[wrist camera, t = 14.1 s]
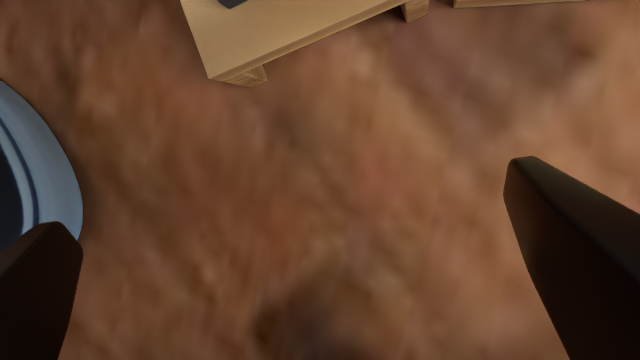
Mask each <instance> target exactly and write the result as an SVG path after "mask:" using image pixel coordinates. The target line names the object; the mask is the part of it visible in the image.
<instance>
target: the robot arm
mask: <svg viewBox="0 0 640 360" xmlns="http://www.w3.org/2000/svg"><path fill="white" fill-rule="evenodd" d="M503 196H504V202H505V205H506V208H507V211H508V214H509V217H510V220H511V223H512V226H513V229H514V232H515V235H516V238H517V241H518V244H519V247H520V250H521V253H522V256H523V259H524V262H525V264H526V267H527V270H528V272H529V274H530V277H531V279H532V281H533V283H534V286H535V288H536V290H537V292H538V294H539V296H540V298H541V300H542V302H543V304H544V306H545V308H546V311H547V313H548V315H549V317H550V319H551V321H552V323H553V325H554V327H555V329H556V331H557V333H558V336H559V338H560V340H561V342H562V344H563V346H564V348H565V350H566V352H567V354H568V356H569V359H570V360H640V214H638V213H637V212H635V211H633V210H631V209H629V208H628V207H626V206H624V205H622V204H620V203H618V202H617V201H615V200H613V199H611V198H609V197H608V196H606V195H604V194H602V193H600V192H598V191H597V190H595V189H593V188H591V187H589V186H588V185H586V184H584V183H582V182H580V181H578V180H577V179H575V178H573V177H571V176H569V175H568V174H566V173H564V172H562V171H560V170H558V169H557V168H555V167H553V166H551V165H549V164H548V163H546V162H544V161H542V160H540V159H538V158H536V157H534V156H528V157H521V158H514V159H512V160H510V162H509V164H508V168H507V174H506V179H505V185H504V191H503ZM82 261H83V249H82V247H81V245H80V244H79V242H78V241H77V240H76V239H75V237H74V236H73V235H72V234H71V233H70V231H69V230H68V229H67V228H66V226H65V225H64V224H63V223H61V222H59V221H51V222H44V223H39V224H36V225H35V226H33V227H32V228H30V229H29V230H28V231H26V232H25V233H24V234H22V235H21V236H19V237H18V238H17V239H15V240H14V241H13V242H11V243H10V244H8V245H7V246H6V247H4V248H3V249H2V250H0V360H58V357H59V353H60V350H61V347H62V344H63V341H64V338H65V335H66V332H67V328H68V325H69V321H70V317H71V312H72V308H73V303H74V298H75V294H76V289H77V284H78V280H79V275H80V270H81V265H82Z"/></svg>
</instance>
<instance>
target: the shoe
mask: <svg viewBox="0 0 640 360" xmlns="http://www.w3.org/2000/svg"><path fill="white" fill-rule="evenodd" d="M51 221H59V222H61V223H63V224H64V225H65V226H66V228H67V229H68V230H69V231H70V233H71V234H72V235H73V236H74V237H75V239H76V240H77V241H78V238H79V234H80V232H81V228H82V223H83V203H82V196H81V191H80V187H79V184H78V182H77V179H76V176H75V173H74V171H73V168H72V166H71V164H70V162H69V160H68V158H67V156H66V154H65V153H64V151H63V149H62V147H61V145H60V144H59V142H58V140H57V139H56V137H55V136H54V134H53V133H52V131H51V130H50V128H49V127H48V125H47V124H46V123H45V121H44V120H43V119H42V117H41V116H40V115H39V114H38V113H37V112H36V111H35V110H34V109H33V108H32V107H31V105H30V104H29V103H28V102H26V101H25V100H24V99H23V98H22V97H21V96H20V95H19V94H18V93H16V92H15V91H14V90H13V89H12V88H11V87H9V86H8V85H7V84H5V83H4V82H2V81H0V250H2V249H3V248H4V247H6V246H7V245H8V244H10V243H11V242H13V241H14V240H15V239H17V238H18V237H19V236H21V235H22V234H24V233H25V232H26V231H28V230H29V229H30V228H32V227H33V226H35V225H36V224H39V223H44V222H51Z"/></svg>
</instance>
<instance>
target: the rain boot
mask: <svg viewBox="0 0 640 360" xmlns="http://www.w3.org/2000/svg"><path fill="white" fill-rule="evenodd" d="M246 1H248V0H218V2H219V3H220V4H222V5H224V6H225V7H227V8H228V9H231V8H233V7H235V6H237V5H239V4H241V3H244V2H246Z"/></svg>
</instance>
